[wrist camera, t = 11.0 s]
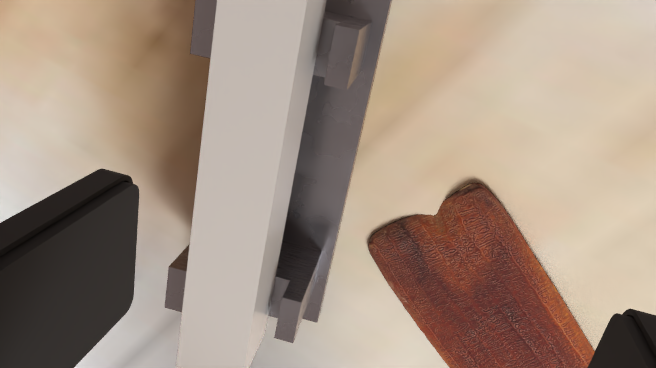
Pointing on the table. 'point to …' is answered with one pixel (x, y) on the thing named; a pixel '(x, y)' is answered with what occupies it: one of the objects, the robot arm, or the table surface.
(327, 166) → the twin post stand
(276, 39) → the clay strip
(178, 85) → the table surface
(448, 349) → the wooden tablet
